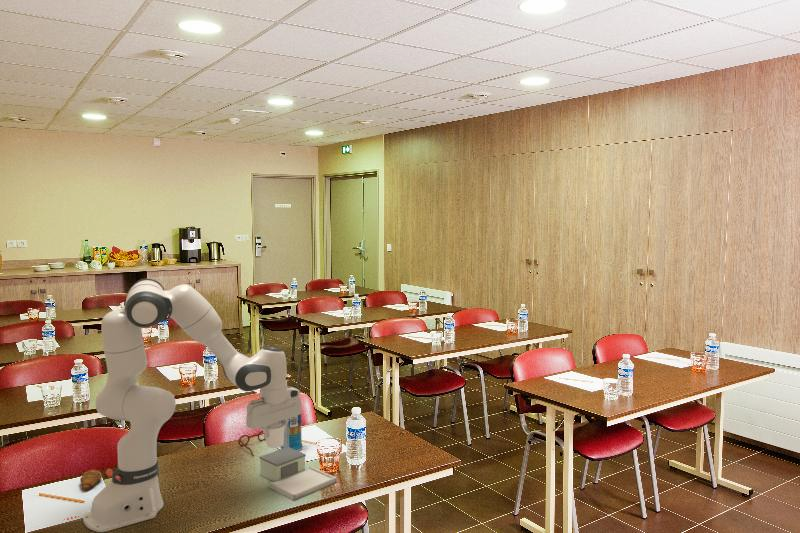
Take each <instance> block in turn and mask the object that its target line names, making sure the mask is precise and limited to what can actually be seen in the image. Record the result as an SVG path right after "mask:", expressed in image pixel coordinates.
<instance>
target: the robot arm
mask: <svg viewBox="0 0 800 533" xmlns="http://www.w3.org/2000/svg"><path fill="white" fill-rule="evenodd" d="M170 318H171V319H172V320H174V321H175V323H177V325H178V326H179V327H180V328H181V329H182V330H183V332H184V333H185V334H186V335H188V336H189V337H190V338H192V340H194V341H195V342H197V343H199V344H201V345H203V346H206V348H208V350H209V351H210V352H211V353H212V354H213V355H214V357H215V358H216V359H217V360H218V361H219V363H220V365H221V368H222V372H223V375H224V377H225V378H226V379H227V381H229V382H231V383H232V384H233V385H234V386H236V387H237V388H238V389H240V390H241V391H243V392H252V391H257V390H260V393H259V394H260V398H257V399H253V400H251V401H250V402H249V403H248V404H247V406H246V420H245V424H246V427H247V428H248V429H250V430H254V431H255V430H257V429H261V431H263V432H262V433H263V437H264V439H265V438H268V437H269V433H268V431H267V430H266V429H267V428H268V425H270V424H273V423H276V422H279V421H283V422H284V423H285V429H284V432H285V431H286V426H287V424H288V422H289V418H291V417H294V416H297V415H300V413H301V414H302V399H301V397H300V395H301V391H300V389H297V388H296V387H293V386H288V382H287V378H286V377H287V372H288V370H287V369H288V368H287V359H286V353H285V351H284V350H283V349H281V348H279V347H275V346H262V347H261V349H260V350H259V351H258V352H256V353H255V354H254V355H252V356H251V357H250V356H248V355H247V354H245V353H242V352H241V351H238V350H237V349H236V348H235V347H234V346H233V345H232V343H231V342H230V341H229V340H228V339H227V338H226V336H225V334H224V333H223V332H222V328H223V321H222V319H221V317H220V315H219V314H218V312H217V311H216V310H215V308H214V307H213V306H212V305H211V303H210V302H209V301H208V300H207V299H206V298H205V297H204V296H203V295H202V294H201V293H200V292H199V291H198V290H196V288H194V287H192V286H191V285H190V284H186V283H185V284H184V283H183V284H179V285H176V286H174V287H172V288H171V289H168V290H166V289H165V288H164V286H163V285H162V284H161V283H160V282H159V281H157V280H156V279H152V278H141V279H139V280H137V281H135V282H134V283H132V285H131V286H130V287H129V290H128V292H127V294H126V297H125V299H124V302H123V307H122V308H118V309H114V310H111V311H109V312H108V313H106V314H105V315H104V316H103V317H102V320H101V329H100V330H101V343H102V348H103V352H104V353H103V354H104V359H105V364H106V369H107V370H106V371H107V377H106V378H107V379H106V383H105V385H104V386H103V387H102V388H100V390H99V392H98V393H97V396H96V398H95V409H96V411H97V413H99V414H100V415H101V416H103V417H106V418H108V419H112V420H117V421H124V422H129V423H130V429H129V432H128V433H126V434H124V435H123V436H122V437H121V438H120V439H119V441H118V442H117V445H116V446H117V447H116V448H117V466H116V469H115V470H113V469H112V468H107V469H106V471H105V475H106V476H108V478H111V481H110V482H109V483H108V484H107V485H105V487H103V489H101V491H99V492H98V494H96V495H95V496H94V498H93V500H92V503H91V509H90V511H87V512H86V513H84V514H83V518H82V522H83V524H84V525H85V526H86V528H88V529H89V530H91V531H94V532H97V533H104V532H105V533H106V532H109V531H112V530H116V529H120V528H122V527H126V526H130V525H133V524H137V523H141V522H144V521H147V520H151V519H154V518H155V517H157V514H158V512H159V511H160V510H162V509H163V507H164V501H163V500H164V499H163V498H162V495H161V491H160V484H159V476H160V474H159V473H160V472H159V471H160V470H159V469H160V467H159V461H158V458H157V457H158V456H157V453H158V452H157V446H158V445H157V444H158V442H157V441H158V435H159V433H160V430H161V429H162V427H163V425H164V424H165V423H166V422H168V420H170V419H171V418H172V416H173V415H174V412H175V410H176V398H175V395H174V394H173V393H172V392H171V391H169V390H166V389H163V388H161V387H158V386H150V385H149V386H148V385H141V384H139V381H138V380H139V379H138V376H140V375H141V374H143V372H144V371H145V370H146V369H147V366H148V363H149V362H148V357H147V353H146V352H147V351H146V346H145V342H144V341H145V340H144V337H143V330H142V329H143V328H150V327H153V326H156V325H157V324H160V323H163V322H166V321H167V320H169V319H170Z"/></svg>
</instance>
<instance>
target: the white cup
mask: <svg viewBox="0 0 800 533" xmlns="http://www.w3.org/2000/svg"><path fill="white" fill-rule="evenodd" d="M284 429H285V423H284V422H281V421H279V422H276V423H273V424H270V425H268V428H267V429H266V430H267V431H268V433H269V437H268V438H266V440H265V443H266V444H265V445H266V446H267V447H268V448H270V449H276V448H281V446H282V445H283V444H284Z"/></svg>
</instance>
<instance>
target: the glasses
mask: <svg viewBox="0 0 800 533" xmlns="http://www.w3.org/2000/svg"><path fill="white" fill-rule="evenodd" d="M262 433H264V432H263V431H262V430H261V431H259V432H258V434H253V435H250V436H249V434H243V435H240V437H239V438H238V440H237V443H238V446H240V447H244V448H246V449H247V450H248V451H249V452H250V454H251V456H252V457H255V455H254V452H253V450H252V449H251V448H250V446H248V444H249V442H250V439H252V438H254V437H257V439H258V441H259V442H263V440H264V441H266V438H265V437H264V438H263V439H261V438H260V435H261V434H262ZM245 437H247V441H246V442H243V441H242V438H245Z"/></svg>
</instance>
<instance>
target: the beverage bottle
mask: <svg viewBox="0 0 800 533" xmlns="http://www.w3.org/2000/svg"><path fill="white" fill-rule="evenodd" d="M281 422H283V421H281ZM302 425H303V421H302V412H301V413H300V415H297V416H294V417H291V418H289V422H288V424H287V426H286V431H285V432H284V444H283V445H282V446H281V447H280V449H283V448H286V447H289V448H292V449H294V450H296V451H299V452H300V451H301V450H302V448H303V445H302V443H303V439H302V436H303V435H302Z"/></svg>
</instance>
